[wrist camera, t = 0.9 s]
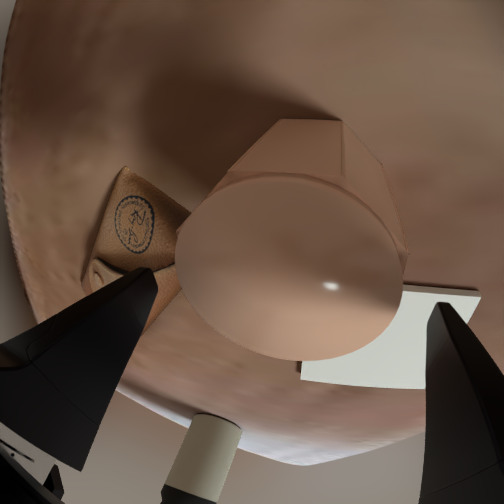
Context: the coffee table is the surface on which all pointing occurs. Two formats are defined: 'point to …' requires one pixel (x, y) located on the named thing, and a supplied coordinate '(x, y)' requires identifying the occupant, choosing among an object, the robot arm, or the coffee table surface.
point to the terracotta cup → (297, 246)
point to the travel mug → (202, 462)
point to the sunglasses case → (137, 239)
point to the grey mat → (394, 344)
